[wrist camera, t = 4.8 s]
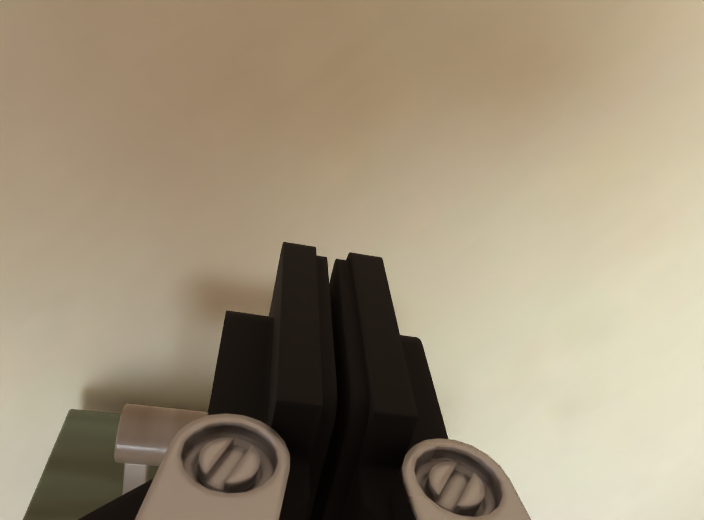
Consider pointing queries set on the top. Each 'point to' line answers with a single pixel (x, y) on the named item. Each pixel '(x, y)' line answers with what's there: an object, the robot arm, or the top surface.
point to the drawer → (104, 458)
